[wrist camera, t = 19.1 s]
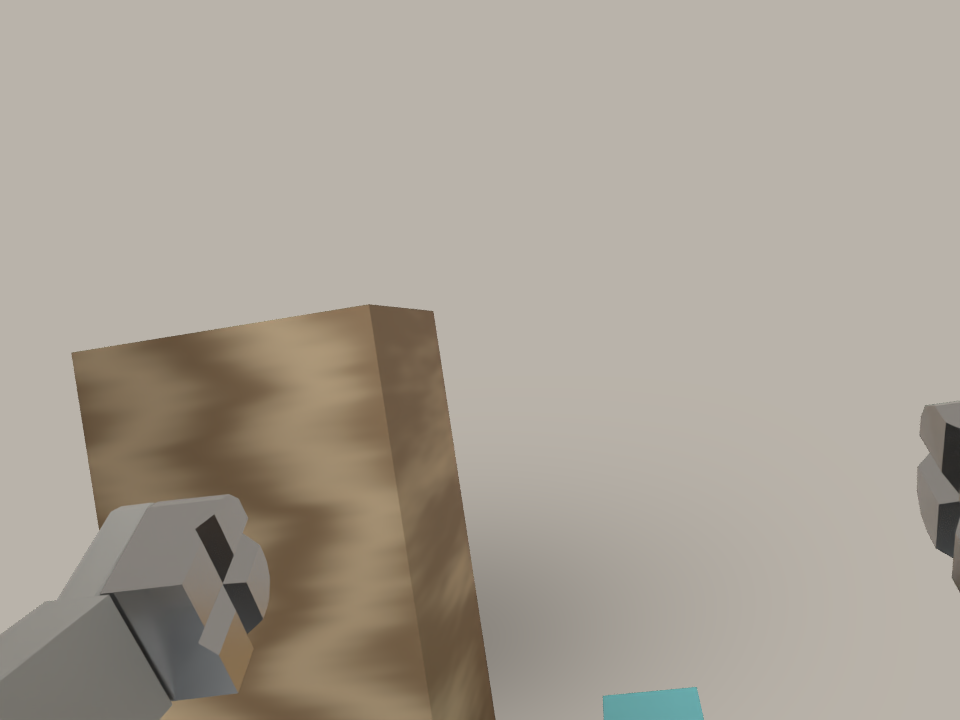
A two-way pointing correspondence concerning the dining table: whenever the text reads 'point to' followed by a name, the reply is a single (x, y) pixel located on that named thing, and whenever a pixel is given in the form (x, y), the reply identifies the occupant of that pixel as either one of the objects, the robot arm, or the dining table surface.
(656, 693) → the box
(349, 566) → the oak stand
